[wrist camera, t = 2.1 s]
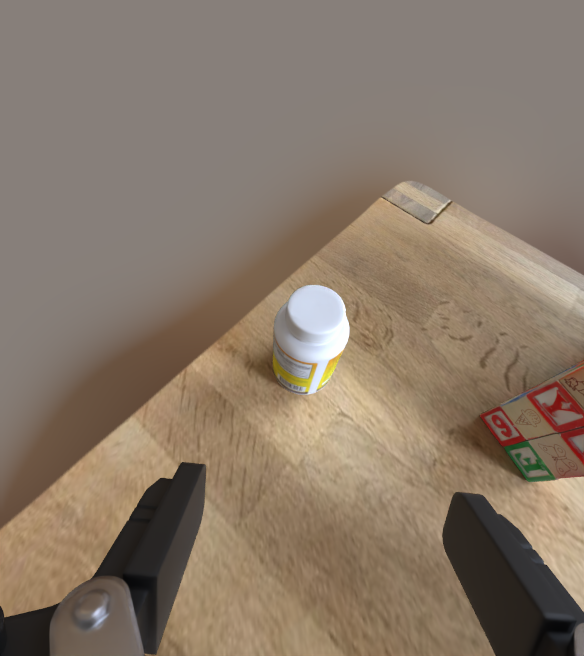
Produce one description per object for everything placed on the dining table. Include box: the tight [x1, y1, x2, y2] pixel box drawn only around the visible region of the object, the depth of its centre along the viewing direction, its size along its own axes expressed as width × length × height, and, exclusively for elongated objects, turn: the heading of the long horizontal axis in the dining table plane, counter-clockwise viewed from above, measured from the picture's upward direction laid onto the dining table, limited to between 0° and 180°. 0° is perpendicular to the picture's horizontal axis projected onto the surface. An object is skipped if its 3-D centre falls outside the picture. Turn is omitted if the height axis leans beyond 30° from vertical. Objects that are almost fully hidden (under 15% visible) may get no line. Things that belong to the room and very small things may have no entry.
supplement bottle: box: [273, 285, 349, 395], centre depth 26 cm, size 6×6×10 cm
